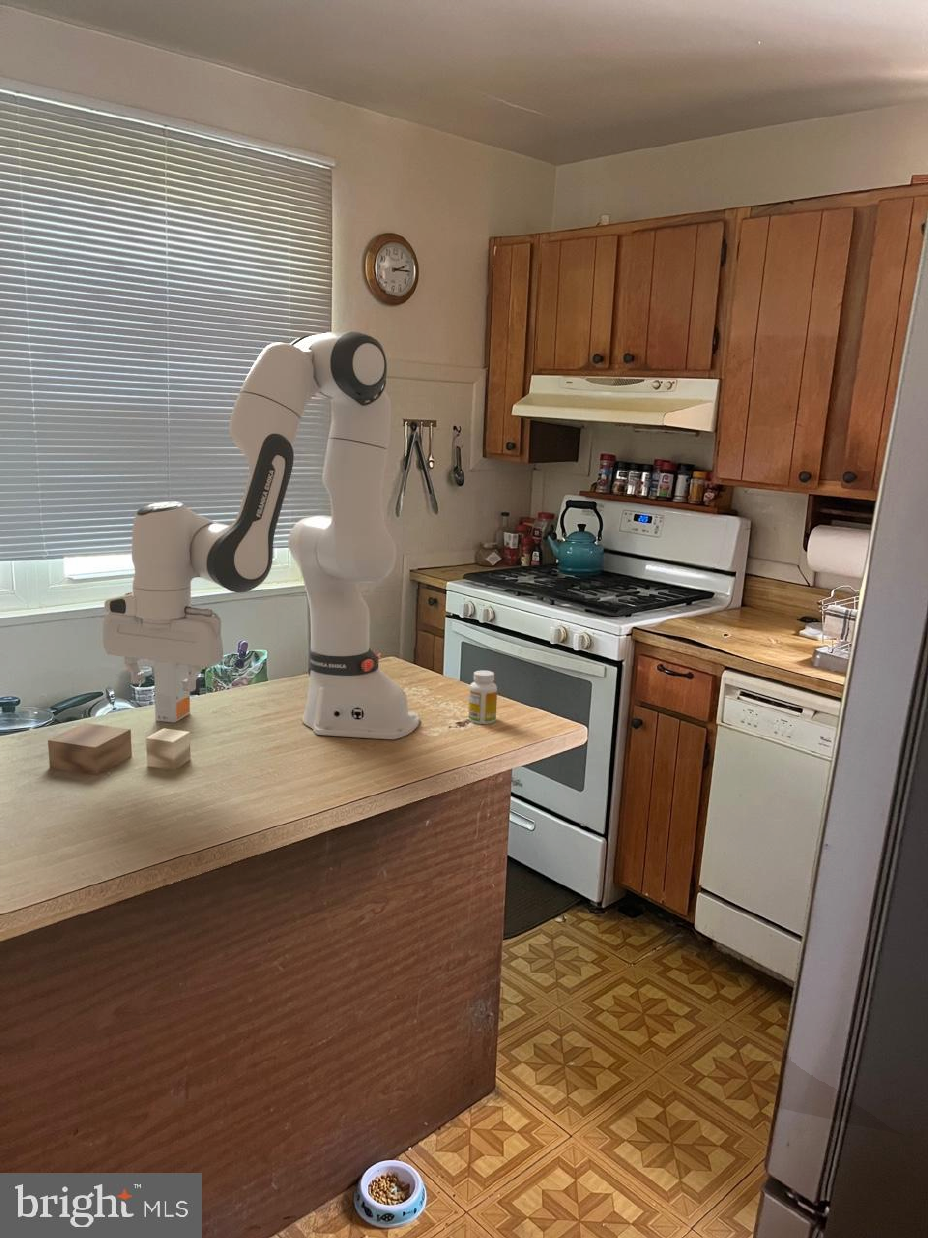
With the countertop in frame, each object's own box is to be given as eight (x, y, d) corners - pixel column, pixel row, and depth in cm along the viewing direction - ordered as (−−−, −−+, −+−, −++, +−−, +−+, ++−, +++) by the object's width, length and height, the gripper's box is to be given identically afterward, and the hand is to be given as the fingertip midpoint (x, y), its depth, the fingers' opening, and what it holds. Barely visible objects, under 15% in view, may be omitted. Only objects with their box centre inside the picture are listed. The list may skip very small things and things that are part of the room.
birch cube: (190, 760, 151) (189, 732, 150) (173, 770, 147) (172, 741, 145) (164, 756, 152) (163, 728, 151) (147, 766, 148) (145, 738, 147)
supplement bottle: (495, 716, 179) (497, 669, 177) (495, 725, 174) (498, 677, 172) (468, 715, 179) (470, 668, 177) (468, 724, 174) (470, 676, 172)
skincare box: (175, 723, 168) (173, 662, 165) (154, 721, 169) (152, 660, 166) (191, 713, 174) (189, 654, 171) (171, 711, 175) (169, 652, 172)
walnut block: (132, 757, 152) (130, 729, 151) (97, 776, 143) (95, 747, 142) (86, 750, 154) (85, 722, 153) (49, 769, 146) (47, 740, 145)
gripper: (230, 607, 144) (230, 689, 147) (119, 594, 149) (122, 674, 152) (209, 614, 138) (210, 700, 141) (95, 600, 143) (97, 684, 146)
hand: (163, 686), depth 146 cm, fingers open, 8 cm apart
